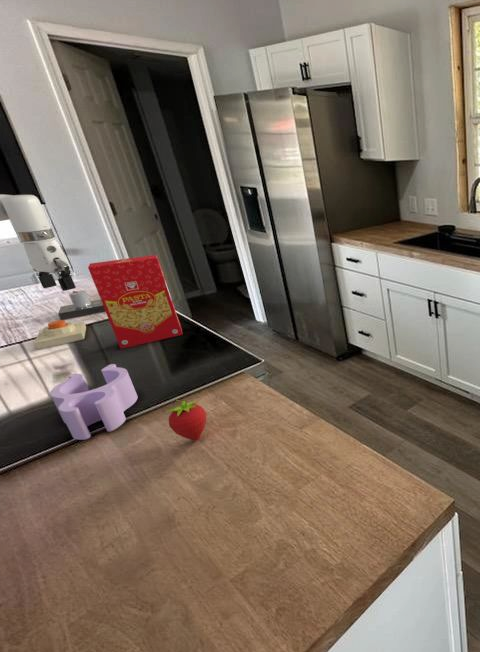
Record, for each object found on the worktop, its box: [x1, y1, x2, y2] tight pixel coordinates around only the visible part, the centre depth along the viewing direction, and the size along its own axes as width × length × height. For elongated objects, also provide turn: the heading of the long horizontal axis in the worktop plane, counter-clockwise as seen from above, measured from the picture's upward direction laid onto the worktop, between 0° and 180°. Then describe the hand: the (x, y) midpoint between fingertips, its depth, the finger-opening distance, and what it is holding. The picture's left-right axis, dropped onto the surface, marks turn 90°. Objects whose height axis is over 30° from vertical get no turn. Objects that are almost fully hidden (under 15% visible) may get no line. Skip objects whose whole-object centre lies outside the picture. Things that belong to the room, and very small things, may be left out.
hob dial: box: [68, 290, 91, 308], centre depth 147 cm, size 4×4×5 cm
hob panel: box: [57, 299, 106, 321], centre depth 148 cm, size 12×9×3 cm
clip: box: [49, 363, 138, 441], centre depth 91 cm, size 20×12×7 cm, turn 41°
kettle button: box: [47, 319, 66, 329], centre depth 127 cm, size 4×4×2 cm
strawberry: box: [164, 399, 207, 442], centre depth 81 cm, size 6×8×10 cm
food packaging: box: [87, 254, 183, 349], centre depth 123 cm, size 15×5×25 cm, turn 129°
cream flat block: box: [34, 321, 87, 350], centre depth 128 cm, size 12×10×4 cm
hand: (59, 288), depth 133 cm, fingers open, 9 cm apart
